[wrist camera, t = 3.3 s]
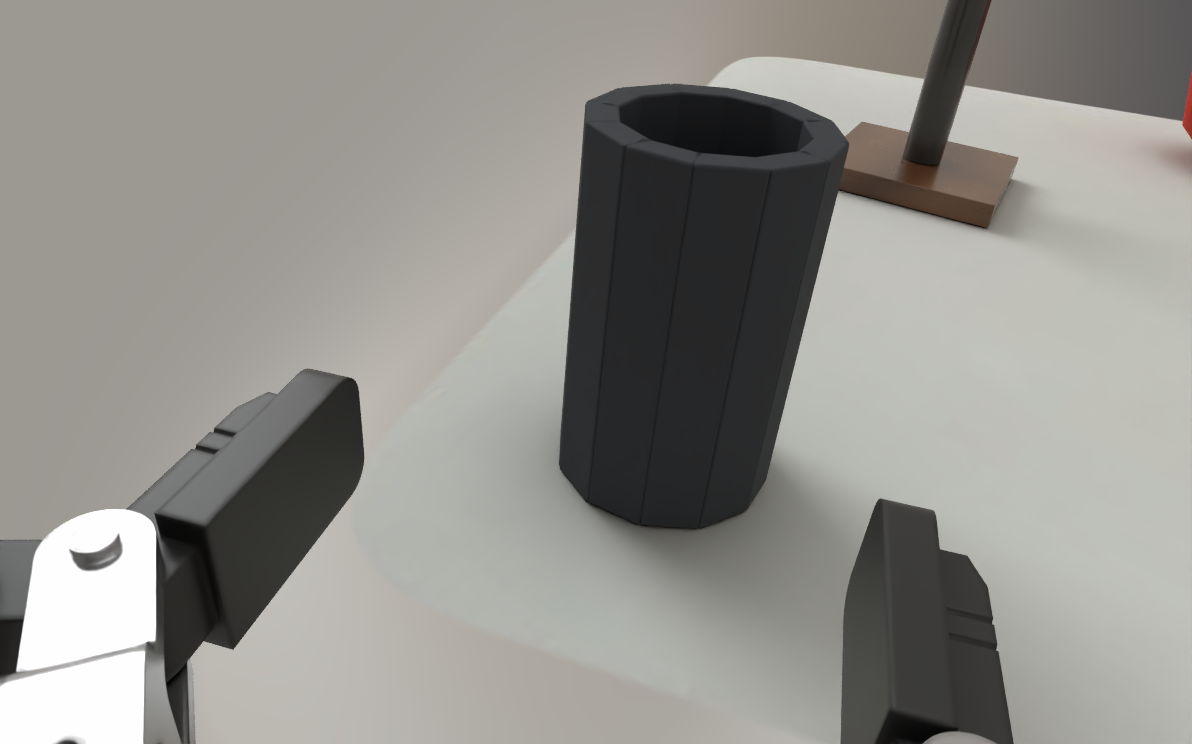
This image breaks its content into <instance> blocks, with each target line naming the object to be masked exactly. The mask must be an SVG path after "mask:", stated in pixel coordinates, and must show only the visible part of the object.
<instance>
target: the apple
mask: <svg viewBox="0 0 1192 744" xmlns="http://www.w3.org/2000/svg"><path fill="white" fill-rule="evenodd" d="M1182 125H1183V127H1184V128H1185V130H1186V131H1187V133H1188V134H1189V136H1190V137H1191V139H1192V74H1191V79H1190V85H1189V90H1188V96H1187V102H1186V107H1185V113H1184V119H1183V124H1182Z"/></svg>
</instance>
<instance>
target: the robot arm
mask: <svg viewBox="0 0 1192 744" xmlns="http://www.w3.org/2000/svg"><path fill="white" fill-rule="evenodd" d="M363 465H364V447H363V435H362V424H361V413H360V401H359V391H358V386H357V383H356V381H355V380H354V379H352V378H349V377H344V376H340V375H335V374H331V373H326V372H322V371H317V370H313V369H305V370H303V371H301V372H300V373H299V374H297V375H296V376H295V377H294V378H293V379H292V380H291V381H290V382H289V383H288V384H287V385H286V386H285V387H284V388H283V389H282V390H281V391H280V392H279V393H278V394H274V393H270V392H267V393H265V394H263V395H261V396H259V397H257V398H255V399H253V400H251V401H249V402H247V403H245V404H242V405H240V406H238V407H237V408H235V409H234V410H233V411H232V412H231V413H230V414H229V415H228V416H227V417H226V418H225V419H223V420H222V421H221V422H220V423H219V424H218V425H217V426H216V427H215V428H214V432H213V433H212V432H209V433H208V434H207V435H206V436H205V437H204V438H203V439H202V440H201V441H200V442H199V443H198V444H196V448H195V450H194V449H191V450H190V451H189V452H188V453H187V454H186V455H184V456H183V458H181V459H180V460H179V461H178V462H177V463H176V464H175V465H174V466H173V467H172V468H171V469H169V470H168V471H167V472H166V473H165V474H164V475H163V476H162V477H161V478H160V479H159V480H158V481H156V482H155V483H154V484H153V485H152V486H151V487H150V488H149V489H148V490H147V491H146V492H144V494H142V496H140V497H139V498H138V499H137V500H136V501H135V502H134V503H133V504H131V505H130V506H129V507H128V508H127V509H126V510H122V509H108V510H101V511H96V512H92V513H88V514H85V515H82V516H79V517H77V518H74V519H72V520H70V521H68V522H66V523H64V524H62V525H61V526H59V527H58V528H56V529H55V530H54V531H52V532H51V533H50V534H49V535H48V536H47V537H46V538H45V539H44V540H0V744H196V743H195V716H194V715H195V714H194V688H193V668H192V663H191V660H190V657H191V656H192V655H193V653H194V652H195V651H196V650H197V649H198V647H199V646H200V645H201V644H202V642H203V641H205V642H209V643H212V644H215V645H219V646H222V647H226V648H229V649H234V648H235V647H236V645H237V644H238V643H239V641H240V640H241V639H242V637H243V636H244V635H245V634H246V632H247V631H248V629H249V628H250V627H251V625H252V624H253V623H254V622H255V621H256V619H257V618H258V616H259V615H260V614H261V613H262V611H263V610H264V609H265V607H266V606H267V605H268V604H269V602H270V601H271V600H272V598H273V597H274V596H275V594H276V593H277V592H278V591H279V589H280V588H281V586H282V585H283V584H284V583H285V581H286V580H287V579H288V577H289V576H290V575H291V573H292V572H293V571H294V570H295V568H296V567H297V565H298V564H299V563H300V562H301V561H302V559H303V558H304V557H305V555H306V554H307V553H308V551H309V550H310V549H311V547H312V546H313V545H314V544H315V542H316V541H317V539H318V538H319V537H320V536H321V534H322V533H323V532H324V530H325V529H326V528H327V527H328V525H329V524H330V523H331V521H332V520H333V519H334V517H335V516H336V515H337V514H338V512H339V511H340V510H341V508H342V507H343V506H344V504H345V503H346V502H347V501H348V499H349V498H350V497H351V495H352V494H353V492H354V491H355V489H356V487H357V485H358V483H359V480H360V477H361V474H362V470H363ZM992 620H993V616H992V610H991V604H990V598H989V592H988V587H987V585H986V584H985V582H984V581H983V579H982V578H981V576H980V575H979V573H978V572H977V570H976V568H975V567H974V565H973V564H972V562H971V561H970V559H969V558H968V556H966V555H961V554H957V553H953V552H948V551H944V550H940V548H939V538H938V529H937V520H936V515H935V512H934V511H933V510H929V509H925V508H920V507H916V506H911V505H907V504H902V503H898V502H894V501H889V500H885V499H879V500H878V501H877V503H876V505H875V507H874V510H873V513H872V516H871V519H870V522H869V525H868V527H867V530H866V533H865V536H864V539H863V542H862V545H861V548H860V551H859V554H858V556H857V559H856V562H855V565H854V568H853V571H852V574H851V577H850V581H849V585H848V590H847V595H846V601H845V608H844V623H843V666H842V709H841V744H1014V743H1013V737H1012V731H1011V725H1010V719H1009V713H1008V707H1007V701H1006V695H1005V689H1004V683H1003V677H1002V671H1001V665H1000V659H999V652H998V651H996V647H997V640H996V634H995V628H994V625H992Z"/></svg>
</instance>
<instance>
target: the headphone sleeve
mask: <svg viewBox="0 0 1192 744" xmlns="http://www.w3.org/2000/svg"><path fill="white" fill-rule="evenodd" d="M848 149H849V142H848V141H847V139H846V138H845V137H844V135H843V134H842V133H841V131H840V130H839V129H838V127H837V126H836V125H835V123H834V122H832V120H829V119H827V118H825V117H823V116H820V115H818V114H816V113H814V112H811V111H809V110H807V109H805V108H802V107H800V106H798V105H796V104H793V103H791V102H787V101H784V100H780V99H775V98H771V97H767V96H762V95H758V94H753V93H749V92H745V91H740V90H736V89H729V88H720V87H708V86H695V85H683V84H671V85H670V84H661V85H650V86H649V85H648V86H636V87H625V88H618V89H615V90H613V91H610V92H608V93H606V94H603V95H601V96H598V97H596V98H594V99H591V100H589V101H588V102H586V105H585V118H584V131H583V144H582V158H581V171H580V184H579V197H578V211H577V224H576V237H575V250H574V263H573V276H572V290H571V303H570V316H569V329H568V343H567V356H566V369H565V382H564V396H563V409H562V422H561V437H560V459H559V465H560V469H561V470H562V471H563V473H564V474H565V475H566V476H567V478H568V479H569V480H570V481H571V483H572V484H573V485H574V486H575V488H576V489H577V490H578V491H579V492H580V494H581V495H582V496H583V497H584V499H585V500H586V501H587V502H590V503H591V504H594V505H596V506H598V507H600V508H603V509H605V510H607V511H609V512H611V513H614V514H616V515H618V516H620V517H623V518H625V519H627V520H629V521H631V522H634V523H636V524H641V525H646V526H664V527H681V528H698V527H699V528H702V527H705V526H708V525H710V524H713V523H716V522H718V521H721V520H723V519H726V518H729V517H731V516H734V515H737V514H739V513H742V512H744V511H745V510H746V509H747V508H748V507H749V505H750V504H751V502H752V501H753V499H754V498H755V496H756V494H757V493H758V491H759V490H760V488H761V487H762V485H763V483H764V482H765V480H766V477H767V473H768V469H769V465H770V461H771V457H772V453H773V449H774V445H775V441H776V437H777V433H778V429H779V425H780V421H781V417H782V413H783V409H784V405H785V401H786V397H787V393H788V389H789V385H790V381H791V377H792V373H793V369H794V365H795V361H796V357H797V353H798V349H799V345H800V341H801V337H802V333H803V329H804V325H805V321H806V317H807V313H808V309H809V305H810V301H811V297H812V293H813V289H814V285H815V281H816V277H817V273H818V269H819V265H820V261H821V257H822V253H823V249H824V245H825V241H826V237H827V233H828V229H829V225H830V221H831V217H832V213H833V209H834V205H835V201H836V197H837V193H838V189H839V185H840V181H841V177H842V173H843V169H844V165H845V161H846V157H847V153H848Z"/></svg>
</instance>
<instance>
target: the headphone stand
mask: <svg viewBox="0 0 1192 744" xmlns="http://www.w3.org/2000/svg"><path fill="white" fill-rule="evenodd" d="M990 3H991V0H947V3H946V6H945V10H944V13H943V17H942V20H941V24H940V28H939V30H938V34H937V38H936V41H935V44H934V48H933V51H932V55H931V58H930V62H929V65H928V69H927V72H926V76H925V79H924V83H923V86H922V90H921V93H920V97H919V100H918V104H917V107H916V111H915V114H914V118H913V121H912V124H911V128H910V131H909V132H905V131H901V130H897V129H892V128H888V127H883V126H879V125H875V124H870V123H866V122H861V123H860V124H859V125H858V126H857V127H855V128H854V129H853V130H852V131H851V132H850V133H849V134H847V135H846V136H845V138H846V139H847V141H848V142H849V149H848V153H847V157H846V161H845V165H844V169H843V173H842V177H841V181H840V185H839V190H843V191H847V192H851V193H855V194H859V195H862V196H866V197H870V198H874V199H878V200H881V201H885V202H889V203H893V204H897V205H901V206H904V207H908V208H912V209H916V210H920V211H924V212H927V213H931V214H935V215H939V216H943V217H946V218H950V219H954V220H958V221H962V222H966V223H969V224H973V225H977V226H981V227H985V228H987V227H988V226H989V224H990V221H991V219H992V217H993V215H994V213H995V211H996V209H997V207H998V205H999V203H1000V200H1001V198H1002V196H1003V194H1004V192H1005V190H1006V188H1007V186H1008V184H1009V182H1010V180H1011V177H1012V175H1013V172H1014V169H1015V167H1016V164H1017V161H1018V157H1014V156H1010V155H1006V154H1001V153H997V152H993V151H988V150H984V149H980V148H975V147H971V146H966V145H962V144H958V143H953V142H949V141H947V140H948V137H949V134H950V131H951V128H952V124H953V121H954V118H955V115H956V112H957V108H958V105H959V102H960V99H961V96H962V92H963V89H964V86H965V83H966V80H967V77H968V73H969V70H970V67H971V64H972V61H973V57H974V54H975V51H976V48H977V45H978V41H979V38H980V35H981V32H982V29H983V25H984V22H985V19H986V15H987V12H988V9H989V6H990Z"/></svg>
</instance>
